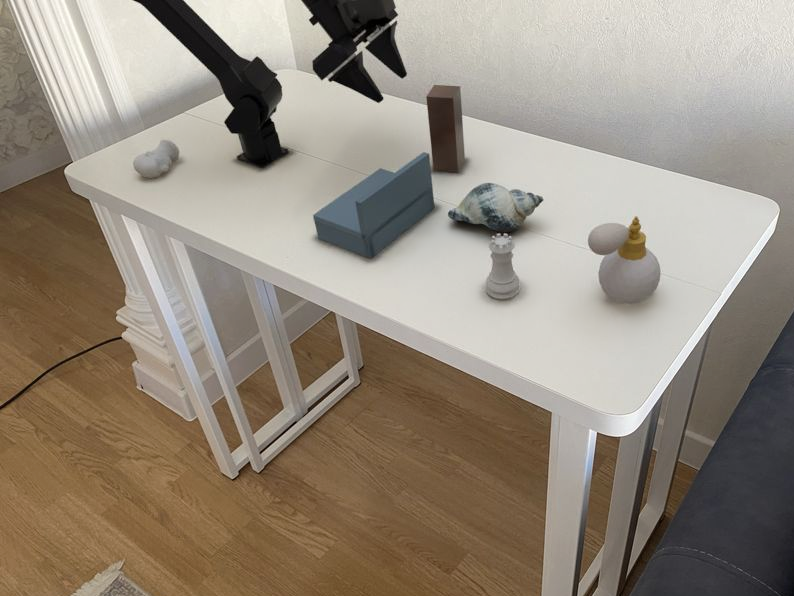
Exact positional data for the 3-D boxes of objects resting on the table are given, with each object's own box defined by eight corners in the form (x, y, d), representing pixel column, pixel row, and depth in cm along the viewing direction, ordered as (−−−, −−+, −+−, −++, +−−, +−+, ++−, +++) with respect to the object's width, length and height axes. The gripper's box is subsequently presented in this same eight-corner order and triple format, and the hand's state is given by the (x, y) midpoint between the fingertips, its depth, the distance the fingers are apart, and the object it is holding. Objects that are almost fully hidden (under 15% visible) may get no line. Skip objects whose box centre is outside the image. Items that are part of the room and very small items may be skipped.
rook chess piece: (483, 281, 95) (481, 230, 90) (517, 278, 95) (517, 227, 90) (487, 302, 92) (485, 251, 86) (522, 299, 92) (522, 247, 87)
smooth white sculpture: (152, 189, 120) (130, 174, 121) (190, 167, 124) (168, 152, 125) (148, 169, 116) (125, 153, 118) (186, 147, 121) (165, 132, 122)
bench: (318, 238, 105) (305, 183, 98) (383, 190, 113) (375, 137, 107) (370, 259, 100) (360, 203, 94) (434, 207, 109) (429, 153, 103)
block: (433, 170, 117) (426, 96, 108) (440, 158, 120) (434, 84, 111) (458, 173, 116) (453, 97, 107) (464, 160, 119) (460, 86, 110)
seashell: (472, 215, 110) (539, 238, 104) (442, 218, 104) (512, 243, 98) (480, 173, 107) (549, 195, 101) (450, 174, 101) (522, 197, 96)
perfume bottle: (667, 290, 92) (681, 209, 84) (630, 332, 86) (641, 250, 78) (614, 270, 95) (623, 190, 87) (576, 310, 90) (581, 229, 82)
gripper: (329, -19, 92) (407, 85, 98) (386, -57, 105) (452, 37, 111) (278, 31, 98) (354, 125, 104) (338, -11, 111) (402, 75, 117)
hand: (393, 88), depth 109 cm, fingers open, 9 cm apart
